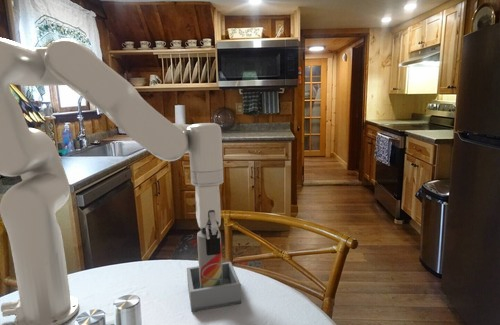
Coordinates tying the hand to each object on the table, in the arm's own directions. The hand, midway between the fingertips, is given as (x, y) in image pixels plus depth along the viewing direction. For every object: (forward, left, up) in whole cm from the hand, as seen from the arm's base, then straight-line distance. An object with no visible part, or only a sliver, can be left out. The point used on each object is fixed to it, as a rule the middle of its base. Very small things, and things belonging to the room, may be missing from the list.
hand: (210, 245), depth 81 cm
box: (0, 0, -13) cm, 13 cm away
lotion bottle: (0, +1, -12) cm, 12 cm away
